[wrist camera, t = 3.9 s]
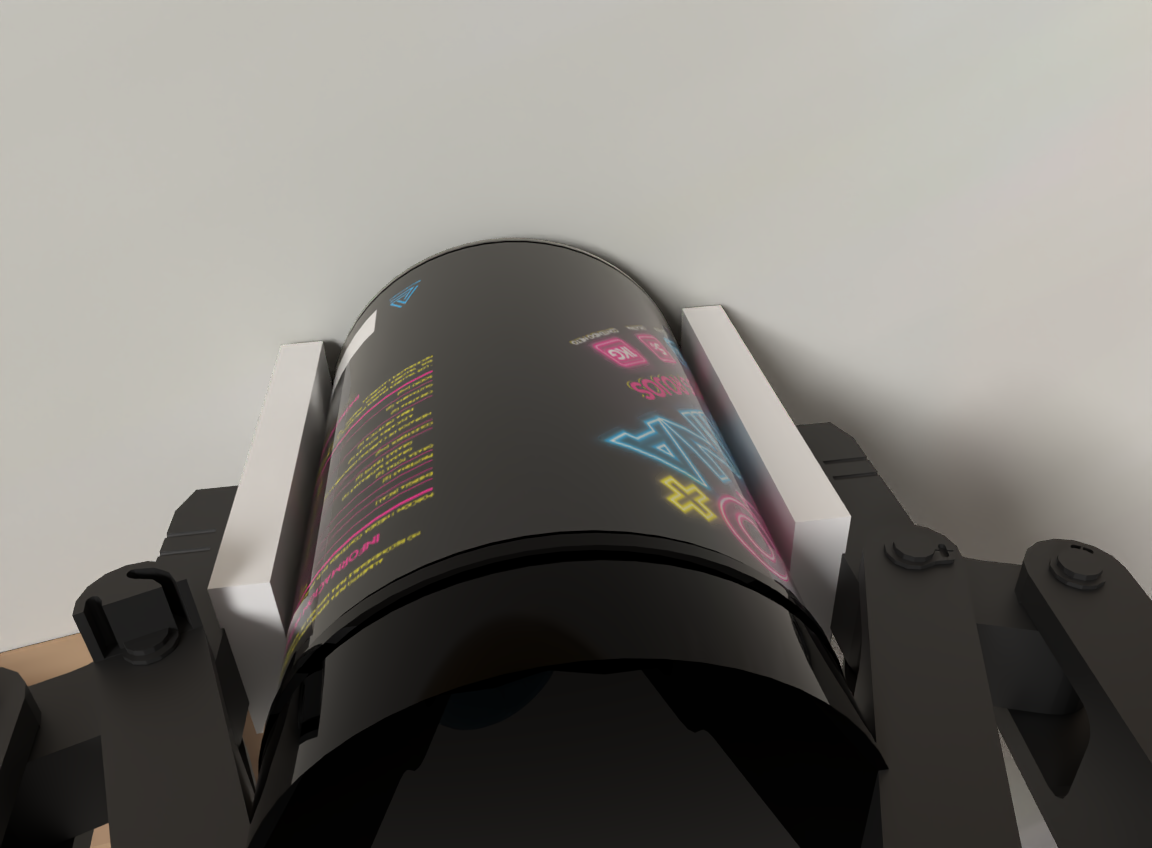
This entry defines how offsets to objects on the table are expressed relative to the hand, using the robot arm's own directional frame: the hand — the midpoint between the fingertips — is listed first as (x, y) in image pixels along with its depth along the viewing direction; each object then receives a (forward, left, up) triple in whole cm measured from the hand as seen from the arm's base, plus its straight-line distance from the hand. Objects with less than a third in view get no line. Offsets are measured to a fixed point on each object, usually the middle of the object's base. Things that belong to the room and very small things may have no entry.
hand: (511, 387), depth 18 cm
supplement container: (0, 0, -1) cm, 1 cm away
